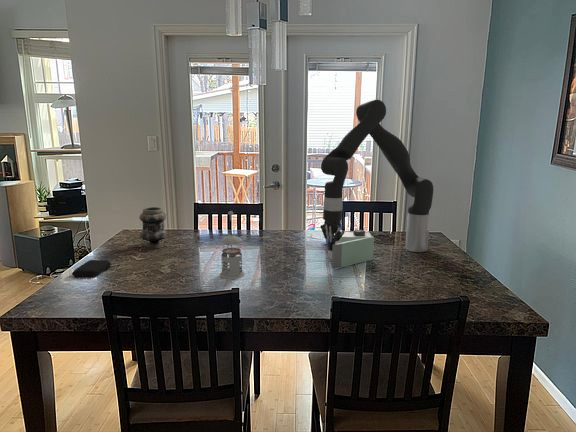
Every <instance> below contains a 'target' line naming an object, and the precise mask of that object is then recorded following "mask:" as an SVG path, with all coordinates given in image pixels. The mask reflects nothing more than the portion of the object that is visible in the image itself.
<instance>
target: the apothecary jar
mask: <svg viewBox="0 0 576 432" xmlns="http://www.w3.org/2000/svg"><path fill="white" fill-rule="evenodd" d="M165 219H167V215H166V213H165V212H164V210H163V208H162V207H158V206H149V207H144V208H142V213H141V214H140V215H139V220H140V221H141V222H142V231H141V232H140V234H139V235H140V237H139V238H141V240H144V241H147V243H145V244H143V248H144V249H150V250H153V249H154V250H155V249H160V248H163V247H165V246H166V243H165V242H164V241H163V242H162V240H165V238H166V237H167V235H168V232H167V230H166V229H165Z"/></svg>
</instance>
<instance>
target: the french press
mask: <svg viewBox="0 0 576 432" xmlns="http://www.w3.org/2000/svg"><path fill="white" fill-rule="evenodd" d="M227 215H229V217H230V220H232V216H233V215H234V212H233V210H230V211H228V212H227ZM242 242H243V239H242V238H240V237H239V236H236V235H232V234H230V235H228V236H225V237H222V238H221V239H220V243H222V244H223V245H226V246H227V247H226V248H225V247H224V248H223V249H222V250H221V252H222V253H221V255H220V258H221V272H220V273H219V275H220V276H219V277H220V278H221V277H222V279H224V278H225V280H236V279H237V280H238V279H241V278H242V277H245V275H246V274H245V272H244V270H243V254H242V252H241V251H242V250H241V249H240V248H238V247H233V245H237V244H238V245H239V244H240V243H242ZM229 246H230V247H229Z"/></svg>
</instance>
